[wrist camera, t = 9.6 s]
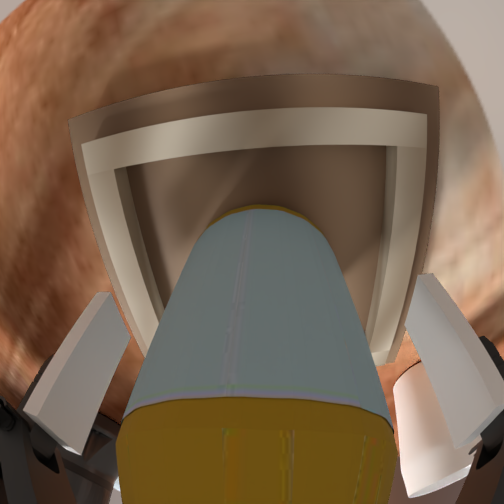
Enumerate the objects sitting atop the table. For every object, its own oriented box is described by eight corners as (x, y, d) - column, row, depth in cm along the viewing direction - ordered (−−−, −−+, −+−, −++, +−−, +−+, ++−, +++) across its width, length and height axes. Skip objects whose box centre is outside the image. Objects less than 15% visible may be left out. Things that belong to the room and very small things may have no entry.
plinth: (160, 349, 22) (148, 385, 18) (92, 115, 13) (53, 122, 10) (385, 339, 20) (398, 374, 17) (414, 87, 12) (452, 86, 8)
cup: (400, 351, 21) (442, 475, 10) (472, 341, 21) (520, 436, 10) (370, 406, 25) (389, 505, 15) (436, 394, 25) (464, 478, 14)
